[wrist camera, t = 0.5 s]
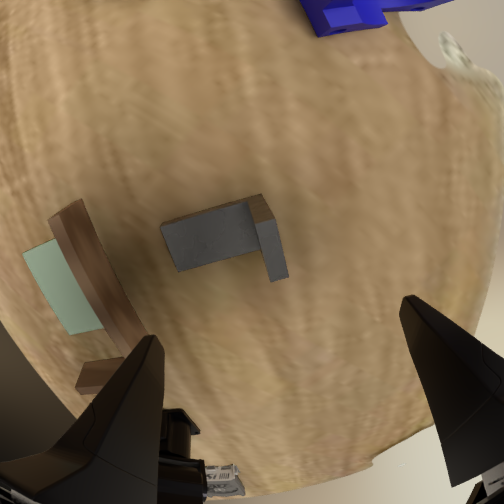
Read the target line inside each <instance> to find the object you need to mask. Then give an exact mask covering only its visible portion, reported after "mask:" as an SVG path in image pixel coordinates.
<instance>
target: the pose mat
mask: <svg viewBox="0 0 504 504" xmlns="http://www.w3.org/2000/svg"><path fill="white" fill-rule="evenodd" d="M22 255H23V257H24V259H25V261H26V263H27V265H28V267H29V269H30V271H31V272H32V274H33V276H34V278H35V280H36V282H37V284H38V285H39V287H40V289H41V291H42V292H43V294H44V296H45V298H46V299H47V301H48V303H49V304H50V306H51V308H52V309H53V311H54V312H55V314H56V316H57V317H58V319H59V320H60V322H61V323H62V325H63V326H64V328H65V329H66V331H67V332H68V334H69V335H73V334H78V333H82V332H87V331H92V330H97V329H102V328H104V327H103V325H102V324H101V322H100V321H99V319H98V317H97V316H96V314H95V312H94V311H93V309H92V307H91V306H90V304H89V302H88V301H87V299H86V297H85V295H84V294H83V292H82V290H81V288H80V286H79V285H78V283H77V281H76V279H75V277H74V275H73V273H72V271H71V270H70V268H69V266H68V264H67V262H66V260H65V258H64V256H63V254H62V251H61V249H60V247H59V245H58V243H57V241H56V239H55V238H54V239H52V240H50V241H48V242H45V243H43V244H41V245H39V246H37V247H34V248H32V249H30V250H28V251H26V252H24V253H23V254H22Z"/></svg>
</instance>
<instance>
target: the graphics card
mask: <svg viewBox="0 0 504 504" xmlns="http://www.w3.org/2000/svg"><path fill="white" fill-rule="evenodd" d="M234 466H235V465H234V464H233V465H231V466H223V467H222V466H219V467H215V466H207V467H205V471H206V477H207V484H208V491H207V496H208V497H212V496H225V497H227V496H235V495H241V496H244V495H245V489H244V486H243V485H242V483H241V481H240V480H239V478H238V477H237V476H235V475H238V472H239V473H240V471H239V469H238V468H237V466H235V467H234ZM226 473H227V474H226Z"/></svg>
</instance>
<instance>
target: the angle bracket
mask: <svg viewBox="0 0 504 504" xmlns="http://www.w3.org/2000/svg"><path fill="white" fill-rule="evenodd" d="M160 228H161V231H162V234H163V236H164V239H165V241H166V244H167V246H168V249H169V251H170V254H171V256H172V258H173V261H174V263H175V266H176V268H177V270H178V272H181V271H184V270H188V269H191V268H195V267H198V266H202V265H206V264H209V263H213V262H216V261H220V260H224V259H227V258H231V257H234V256H238V255H241V254H245V253H249V252H252V251H256V250H259V249H261V252H262V256H263V259H264V262H265V266H266V269H267V272H268V275H269V279H270V282H274V281H277V280H281V279H284V278H288V277H289V275H288V270H287V266H286V262H285V257H284V253H283V249H282V244H281V240H280V236H279V232H278V228H277V223H276V219H275V217H274V215H273V213H272V212H271V210H270V208H269V206H268V204H267V203H266V201H265V199H264V197H263V195H262V194H258V195H254V196H251V197H247V198H243V199H240V200H236V201H233V202H229V203H226V204H222V205H219V206H216V207H212V208H209V209H205V210H202V211H199V212H195V213H192V214H189V215H186V216H183V217H179V218H176V219H173V220H170V221H167V222H164V223H162V225H161V226H160Z"/></svg>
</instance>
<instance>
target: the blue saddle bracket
mask: <svg viewBox="0 0 504 504" xmlns="http://www.w3.org/2000/svg"><path fill="white" fill-rule="evenodd" d="M299 1H300V2H301V4H302V6H303V8H304V10H305V12H306V14H307V16H308V18H309V20H310V22H311V24H312V26H313V28H314V30H315V32H316V34H317V36H318V37H323V36H328V35H333V34H339V33H344V32H350V31H357V30H364V29H372V28H380V27H382V26H385V25H387V24H388V23H387V21H386V19H385V16H384V14H383V12H391V11H398V12H401V11H423V10H426V9H429V8H432V7H435V6H438V5H441V4H444V3H447V2H450V1H453V0H299Z"/></svg>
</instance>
